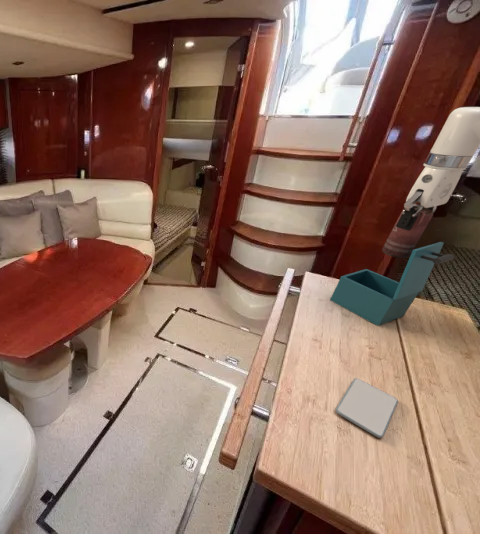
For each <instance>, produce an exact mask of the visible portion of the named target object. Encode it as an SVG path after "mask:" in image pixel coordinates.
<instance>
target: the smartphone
mask: <svg viewBox="0 0 480 534" xmlns="http://www.w3.org/2000/svg"><path fill="white" fill-rule="evenodd" d="M398 404H399V400H398V399H397V397H395V396H393V395H391V394H389V393H387V392H385V391H384V390H382V389H379V388H377V387H375V386H374V385H372V384H370V383H368V382H366V381H363V380H362V379H360V378H353V380H352V381H351V383H350V385H349V386H348V388H347V390H346V391H345V393H344V395H343V396H342V398H341V400H340V401H339V402H338V405H337V406H336V408H335V412H336V414H337V415H339V416H340V417H342V418H344V419H345V420H347V421H349V422H351V423H353V424H354V425H356V426H357V427H359V428H361V429H362V430H364V431H366V432H368V434H370V435H372V436H374V437H376V438H378V439H383V437H384V436H385V433H386V432H387V429H388V426H389V424H390V422H391V419H392V417H393V415H394V412H395V410H396V408H397V405H398Z"/></svg>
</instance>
